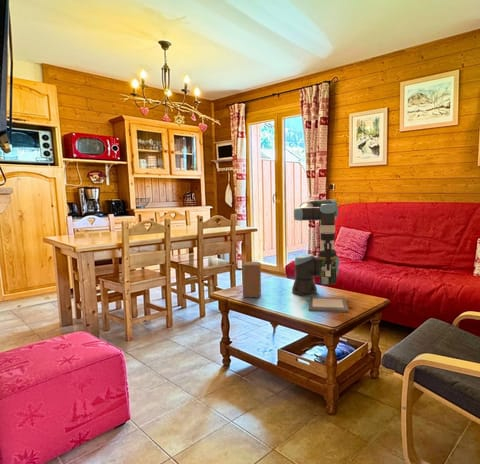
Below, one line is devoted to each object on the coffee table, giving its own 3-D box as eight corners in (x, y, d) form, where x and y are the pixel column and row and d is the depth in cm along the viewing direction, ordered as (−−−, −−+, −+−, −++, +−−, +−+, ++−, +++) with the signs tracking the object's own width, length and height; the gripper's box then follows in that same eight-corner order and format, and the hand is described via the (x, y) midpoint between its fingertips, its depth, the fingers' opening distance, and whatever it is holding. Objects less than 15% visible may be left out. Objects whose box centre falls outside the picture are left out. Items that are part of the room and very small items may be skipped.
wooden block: (259, 298, 206) (258, 265, 204) (242, 297, 208) (241, 264, 206) (261, 293, 216) (260, 261, 214) (245, 293, 218) (244, 261, 216)
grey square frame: (309, 299, 202) (309, 296, 202) (345, 300, 198) (345, 297, 198) (308, 310, 183) (308, 307, 183) (348, 312, 179) (348, 309, 178)
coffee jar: (325, 280, 195) (325, 247, 193) (338, 282, 190) (338, 248, 188) (316, 283, 188) (316, 249, 186) (329, 286, 183) (329, 251, 181)
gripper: (320, 230, 197) (320, 269, 200) (320, 235, 176) (320, 278, 178) (333, 230, 196) (333, 269, 198) (336, 235, 174) (336, 279, 177)
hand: (327, 274), depth 188 cm, fingers closed on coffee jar, 9 cm apart
